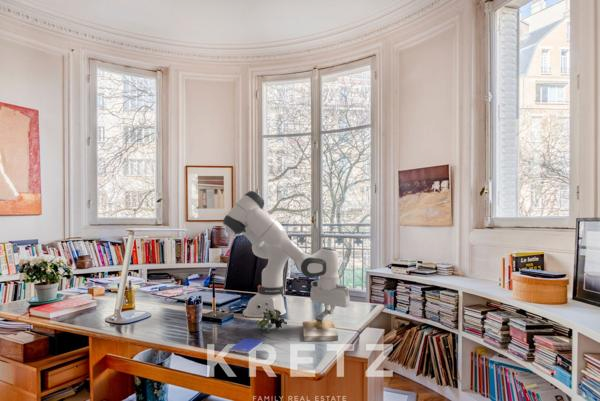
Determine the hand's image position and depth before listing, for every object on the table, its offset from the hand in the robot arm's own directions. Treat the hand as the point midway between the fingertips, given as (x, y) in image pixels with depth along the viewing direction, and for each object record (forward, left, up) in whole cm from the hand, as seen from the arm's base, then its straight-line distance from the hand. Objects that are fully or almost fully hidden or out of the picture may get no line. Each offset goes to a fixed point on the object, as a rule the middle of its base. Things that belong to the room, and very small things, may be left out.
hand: (329, 314), depth 172 cm
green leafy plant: (-27, -2, -7) cm, 28 cm away
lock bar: (-3, -2, -1) cm, 4 cm away
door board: (-5, -6, -6) cm, 10 cm away
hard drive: (-36, -21, -7) cm, 42 cm away
